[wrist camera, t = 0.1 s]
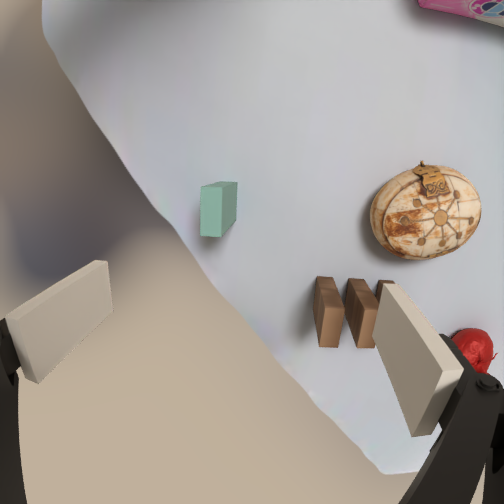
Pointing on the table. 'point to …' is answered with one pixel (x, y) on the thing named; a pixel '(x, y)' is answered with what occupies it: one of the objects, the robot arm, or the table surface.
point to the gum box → (470, 9)
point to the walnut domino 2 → (361, 312)
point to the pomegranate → (475, 348)
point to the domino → (217, 208)
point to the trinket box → (425, 212)
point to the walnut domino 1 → (328, 312)
